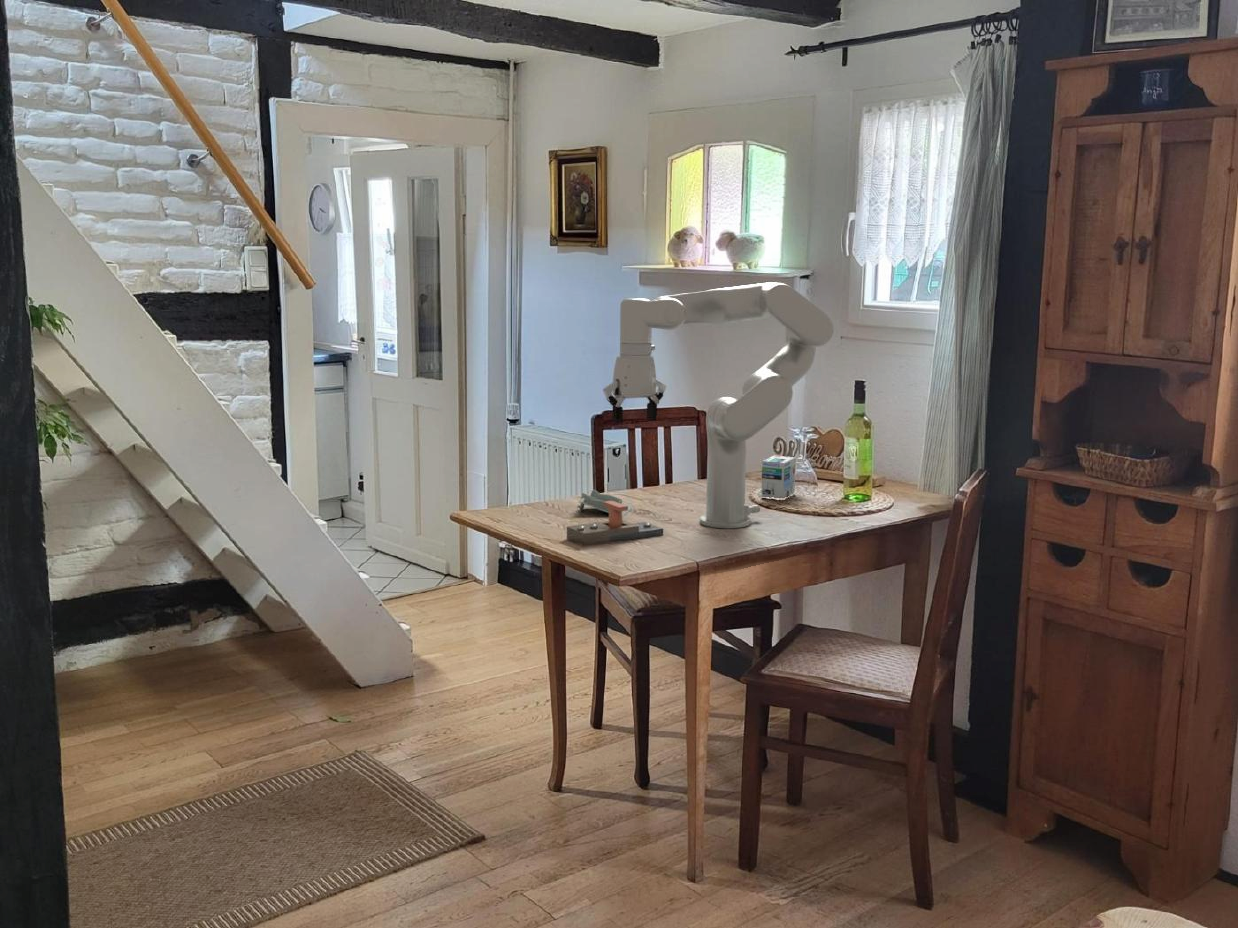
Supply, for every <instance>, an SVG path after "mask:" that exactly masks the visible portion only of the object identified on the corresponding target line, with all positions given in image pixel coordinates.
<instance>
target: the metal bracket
mask: <svg viewBox="0 0 1238 928" xmlns="http://www.w3.org/2000/svg"><path fill="white" fill-rule="evenodd" d="M606 501H615V502H617V503H620V504H623V505H626V506H628V510H627V511H622V520H624V519H625V518H626V515H627V514H628V513H629V512H630V511H632V510H633V509H634V508H635V506H634V505H632V504H630V503H626V502H623V499H622V498H620V497H617V496H614V495H611V494H604V493H600V492H599V491H597V490H596V489H592V491H591V492H590V493H589V492H588V493H585V492H581V498H580V500H579V501H578V503H579V504H580V505H579V504H577V506H576V507H577V509H579V511H578V512H579V513H581V512H582V511H583V510H584V508H585V506H588V507H590V508H593V509H595V510H599V511H602V512H605V513H608V514H609V508H608V507H605V506H604V502H606Z"/></svg>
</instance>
